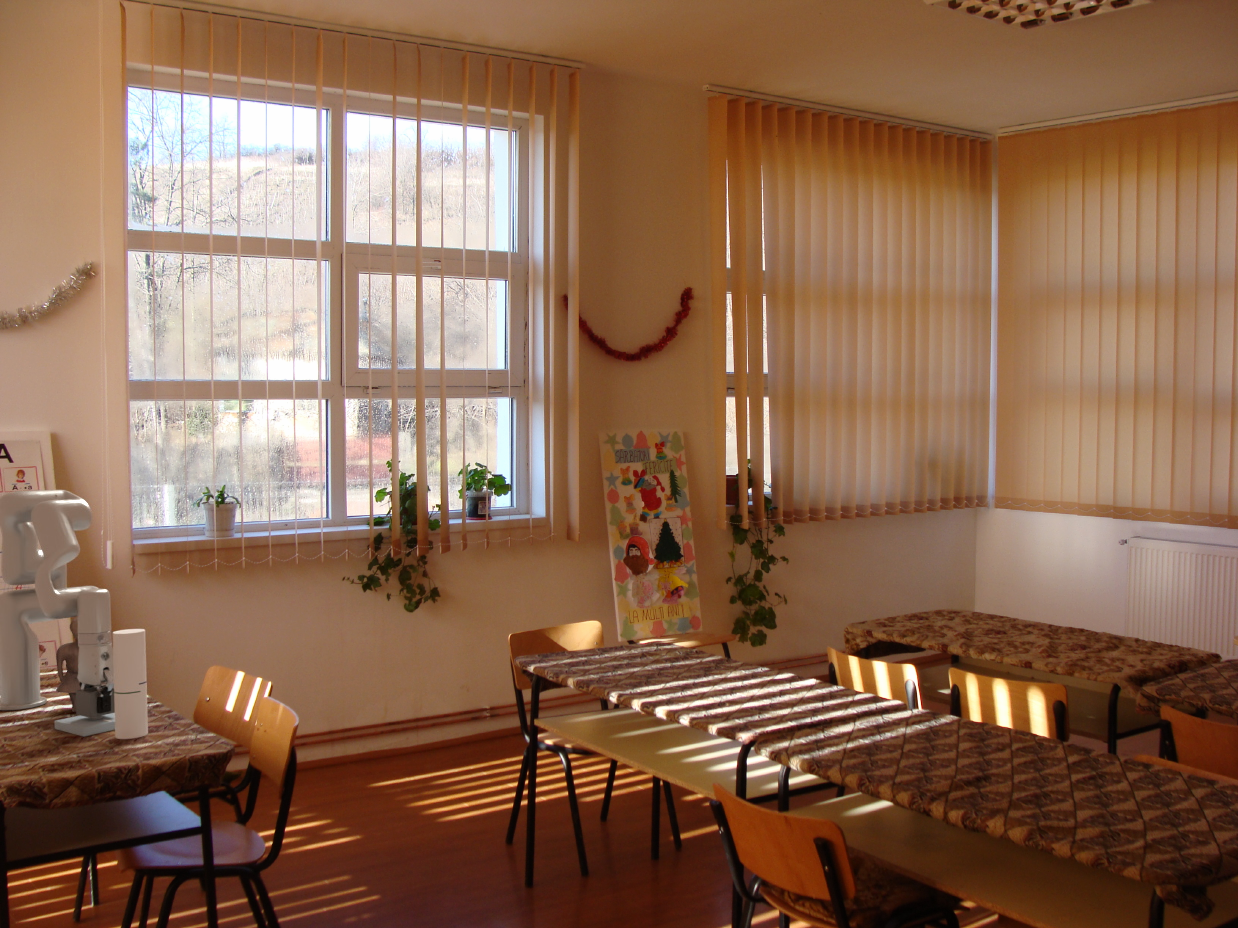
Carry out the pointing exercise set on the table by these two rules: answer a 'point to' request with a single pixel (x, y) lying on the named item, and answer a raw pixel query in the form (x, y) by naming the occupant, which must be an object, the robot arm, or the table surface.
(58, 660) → the clay figurine
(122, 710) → the cylindrical container
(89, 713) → the square tunnel housing
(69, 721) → the shaft base
